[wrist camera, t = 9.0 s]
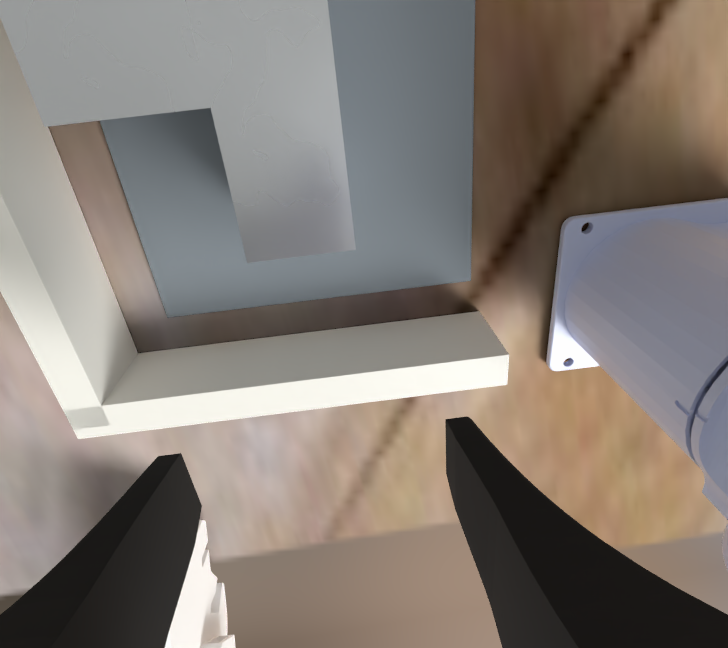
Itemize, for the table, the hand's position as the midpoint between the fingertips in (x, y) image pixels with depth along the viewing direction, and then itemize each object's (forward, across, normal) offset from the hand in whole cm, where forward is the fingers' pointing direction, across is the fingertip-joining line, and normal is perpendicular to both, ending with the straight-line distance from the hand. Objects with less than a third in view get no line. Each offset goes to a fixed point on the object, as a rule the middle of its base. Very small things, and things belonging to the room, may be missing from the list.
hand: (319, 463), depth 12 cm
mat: (+10, 0, -6) cm, 12 cm away
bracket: (+10, +2, -8) cm, 13 cm away
